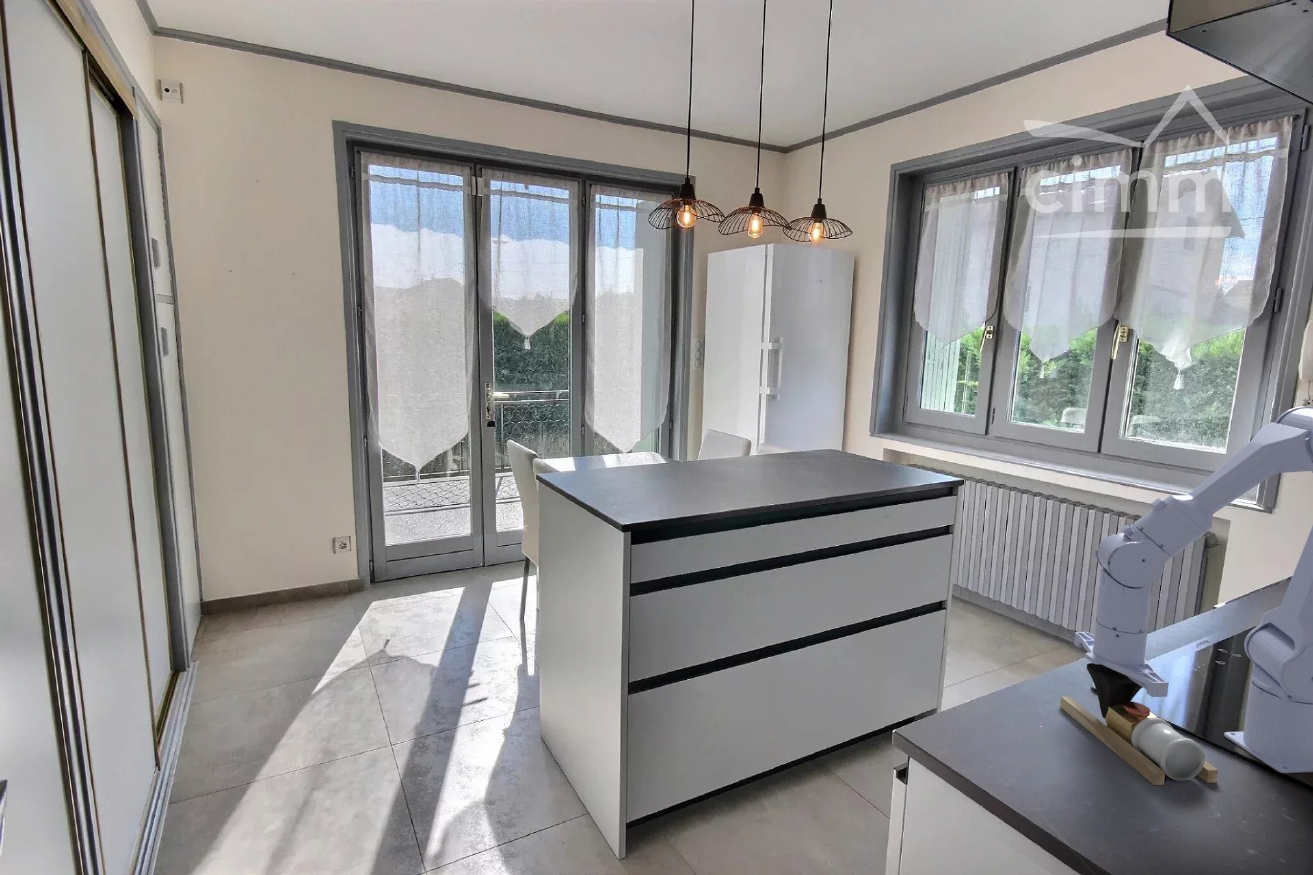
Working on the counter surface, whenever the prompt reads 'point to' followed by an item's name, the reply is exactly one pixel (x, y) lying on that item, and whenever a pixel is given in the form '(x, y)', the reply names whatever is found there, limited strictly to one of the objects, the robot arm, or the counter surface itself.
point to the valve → (1126, 718)
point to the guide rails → (1125, 745)
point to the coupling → (1168, 749)
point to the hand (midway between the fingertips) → (1111, 718)
